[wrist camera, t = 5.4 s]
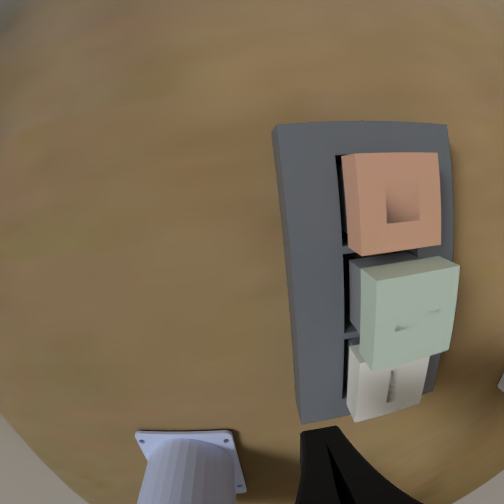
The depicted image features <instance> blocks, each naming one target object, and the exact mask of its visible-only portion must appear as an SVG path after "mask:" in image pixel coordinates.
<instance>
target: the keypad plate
mask: <svg viewBox="0 0 504 504" xmlns="http://www.w3.org/2000/svg"><path fill="white" fill-rule="evenodd" d="M271 133H272V141H273V150H274V158H275V166H276V175H277V184H278V193H279V202H280V211H281V221H282V231H283V241H284V251H285V262H286V273H287V284H288V296H289V308H290V320H291V334H292V347H293V362H294V377H295V393H296V404H297V408H298V412H299V416H300V420H301V424H307V423H312V422H318V421H323V420H328V419H333V418H338V417H343V416H347V415H351V413H350V411H349V409H348V407H347V404H346V401H347V385H346V383H345V381H344V379H343V365H344V339H349V338H354V337H359V336H360V334H359V332H358V331H357V329H356V328H355V327H354V325H353V324H352V323H351V321H350V312H349V313H344V274H343V254H348V253H356V252H355V251H353V250H352V249H350V248H349V247H348V235H345V236H342V231H341V216H340V202H339V191H338V180H337V170H336V160H335V157H341V156H344V155H349V154H356V153H392V152H427V153H438V163H439V176H440V194H441V245H435V246H429V247H422V248H415V249H408V250H402V251H398V253H401V252H408V253H410V254H412V255H414V256H416V257H418V258H420V259H423V258H429V257H435V256H440V257H442V258H445V259H447V260H449V261H451V262H452V258H453V185H452V169H451V157H450V147H449V138H448V130H447V125H445V124H432V123H417V122H393V121H333V122H309V123H292V124H279V125H276V126H275V128H274V129H273V131H272V132H271ZM440 355H441V352H440V353H437V354H434V355H431V356H430V358H429V363H428V368H427V373H426V378H425V383H424V387H423V391H422V394H425V393H428V392H431V391H433V387H434V383H435V379H436V374H437V370H438V365H439V360H440Z"/></svg>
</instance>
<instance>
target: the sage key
mask: <svg viewBox="0 0 504 504" xmlns="http://www.w3.org/2000/svg"><path fill="white" fill-rule="evenodd" d="M459 270H460V265H458V264H455V263H453V262H451V261H449V260H447V259H445V258H442V257H440V256H435V257H429V258H423V259H420V258H418V257H416V256H414V255H412V254H410V253H408V252H401V253H394V254H387V255H380V256H373V257H366V258H359V259H352V260H349V277H350V321H351V323H352V324H353V325H354V327H355V328H356V329H357V331H358V332H359V334H360V347H359V353H360V354H361V356H362V357H363V359H364V360H365V362H366V363H367V365H368V367H369V368H370V370H371V371H372V372H373V371H377V370H381V369H385V368H389V367H393V366H397V365H400V364H404V363H407V362H411V361H414V360H418V359H421V358H425V357H428V356H431V355H434V354H437V353H440V352H444V351H447V350H449V345H450V340H451V334H452V328H453V322H454V315H455V308H456V300H457V292H458V282H459Z"/></svg>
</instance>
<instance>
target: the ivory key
mask: <svg viewBox="0 0 504 504" xmlns="http://www.w3.org/2000/svg"><path fill="white" fill-rule="evenodd" d="M359 347H360V336H359V337H354V338H349V339H344V365H343V379H344V381H345V383H346V385H347V401H346V404H347V407H348V409H349V411H350V413H351V416H352V418H353V420H354V422H358V421H362V420H366V419H370V418H374V417H378V416H381V415H385V414H388V413H392V412H395V411H398V410H402V409H405V408H408V407H411V406H414V405H417V404H420V400H421V396H422V391H423V387H424V383H425V378H426V373H427V368H428V363H429V358H430V356H428V357H425V358H421V359H418V360H414V361H411V362H407V363H404V364H400V365H397V366H393V367H389V368H385V369H381V370H377V371H373V372H372V371H371V370H370V368H369V367H368V365H367V363H366V362H365V360H364V359H363V357H362V356H361V354H360V353H359Z"/></svg>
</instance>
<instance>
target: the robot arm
mask: <svg viewBox="0 0 504 504" xmlns="http://www.w3.org/2000/svg"><path fill="white" fill-rule="evenodd" d="M135 438H136V440H137V442H138V444H139V446H140V448H141V450H142V451H143V453H144V455H145V457H146V459H147V461H148V464H147V468H146V471H145V475H144V479H143V482H142V486H141V490H140V494H139V497H138V501H137V504H236V493H245V492H246V491H247V487H246V484H245V480H244V476H243V473H242V469H241V465H240V462H239V458H238V454H237V450H236V446H235V442H234V438H233V434H232V432H231V431H228V430H217V431H190V432H160V431H137V432H136V433H135ZM225 439H229V440H225ZM300 464H301V479H300V484H299V489H298V494H297V498H296V502H295V504H423V503H421V502H419V501H417V500H415V499H414V498H412V497H410V496H409V495H407V494H406V493H404V492H403V491H401V490H400V489H399V488H397V487H396V486H394V485H393V484H392V483H391V482H389V481H388V480H387V479H386V478H384V477H383V476H382V475H381V474H380V473H379V472H378V471H377V470H375V469H374V468H373V467H372V466H371V465H370V464H369V463H368V462H367V461H366V460H365V459H364V458H363V456H362V455H361V454H360V453H359V452H358V451H357V450H356V449H355V448H354V446H353V445H352V444H351V443H350V442H349V440H348V439H347V438H346V437H345V435H344V434H343V433H342V431H341V430H340V428H339V427H338V426H331V427H325V428H320V429H314V430H308V431H303V432H302V433H301V434H300Z"/></svg>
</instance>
